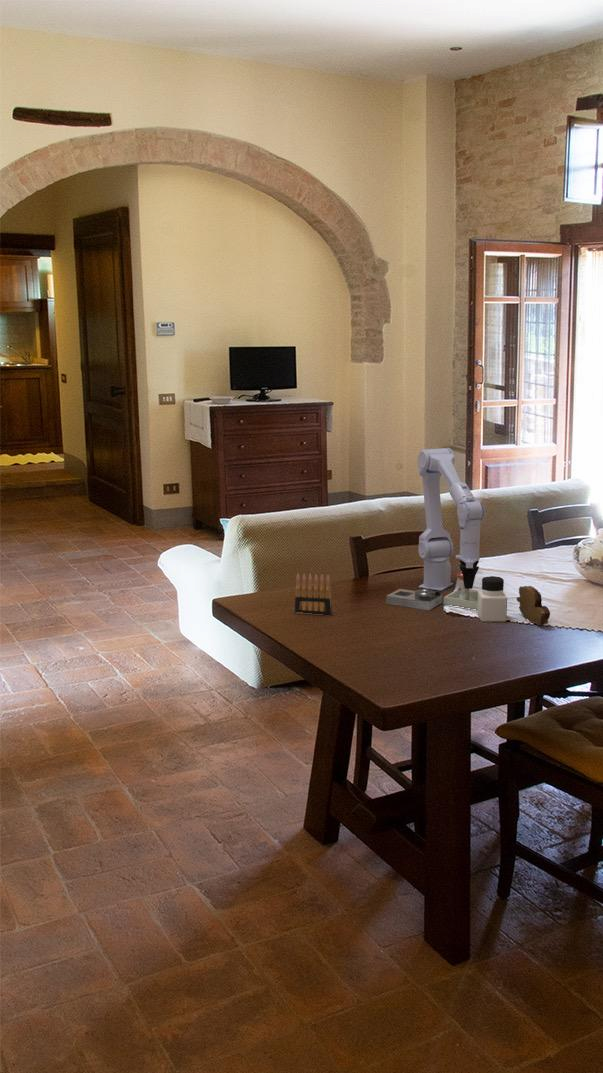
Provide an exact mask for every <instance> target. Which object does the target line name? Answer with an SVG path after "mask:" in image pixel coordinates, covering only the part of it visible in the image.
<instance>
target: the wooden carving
mask: <svg viewBox="0 0 603 1073" xmlns="http://www.w3.org/2000/svg"><path fill="white" fill-rule="evenodd" d="M541 594H542V593H541V592H539V590H538V589H536V588H535V587H534V586H532V585H524V586H522V585H521V586H519V588H518V595H519V596H517V597H516V601H517V602H518V603H519V607H518V609H519V611H520V613H521V614H522V617H524V619H526V620H527V619H528V620H529V621H530V622H529V621H528V620H527V621H528V622H529V623H536V624H537V625H538V626H544V625H548V624H549V623H548V622H549V619H550V616H551V612H550V610H549V607H548V606H546V605H543V604H542V595H541Z"/></svg>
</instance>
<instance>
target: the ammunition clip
mask: <svg viewBox="0 0 603 1073" xmlns="http://www.w3.org/2000/svg"><path fill="white" fill-rule="evenodd" d="M312 577H313V576H312V574H311V573H309V576H308V578H307V577H306V574H305V573H303V575H302V579H301V577H300V574H299V572H298V573H297V575H296V578H295V579H296V580H295V590H294V592H295V598H294V613H295V612H303V613H312V614H323V615H322V616H324V615H330V616H331V615H332V614H333V609H332V608H333V607H332V589H331V578H330V575H329V574H327V575H326V579H324V575H323V574H321V575H320V579H319V578H318V574H317V573H315V576H314V578H312ZM307 579H308V580H307ZM313 579H314V580H313ZM301 580H302V581H301ZM313 582H314V583H313Z"/></svg>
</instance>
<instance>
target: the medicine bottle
mask: <svg viewBox="0 0 603 1073" xmlns="http://www.w3.org/2000/svg"><path fill="white" fill-rule="evenodd" d="M504 581H505V580H504V579H503V577H500V576H498V575H487V576H486V575H485V577H482V579H481V590H478V591H477V592H478V608H477V610H476V611H477V612H476V613H477V617H478V618H479V620H480V621H481V622H482V623H483V622H502V623H504V622H507V612H508V608H507V607H508V597H507V596H506V594H505V592H504V587H505V585H504V584H505V582H504Z"/></svg>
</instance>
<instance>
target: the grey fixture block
mask: <svg viewBox="0 0 603 1073" xmlns="http://www.w3.org/2000/svg"><path fill="white" fill-rule="evenodd" d="M385 598H386V603H385V604H386V605H390V606H391V605H394V606H398V607H399V606H400V607H404V608H405V607H406V608H411V609H417V610H424V611H430V610H433V609H434V608H436V607H438V606H439V605H441V604H442V603H443V595H442V593H441V591H439V590H433V589H426V588H419V589H416V590H412V589H411V590H409V589H404V588H403V589H402V588H398V589H396V590H395V591H393V592H391V593H389V594H387V595H386V597H385Z"/></svg>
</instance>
